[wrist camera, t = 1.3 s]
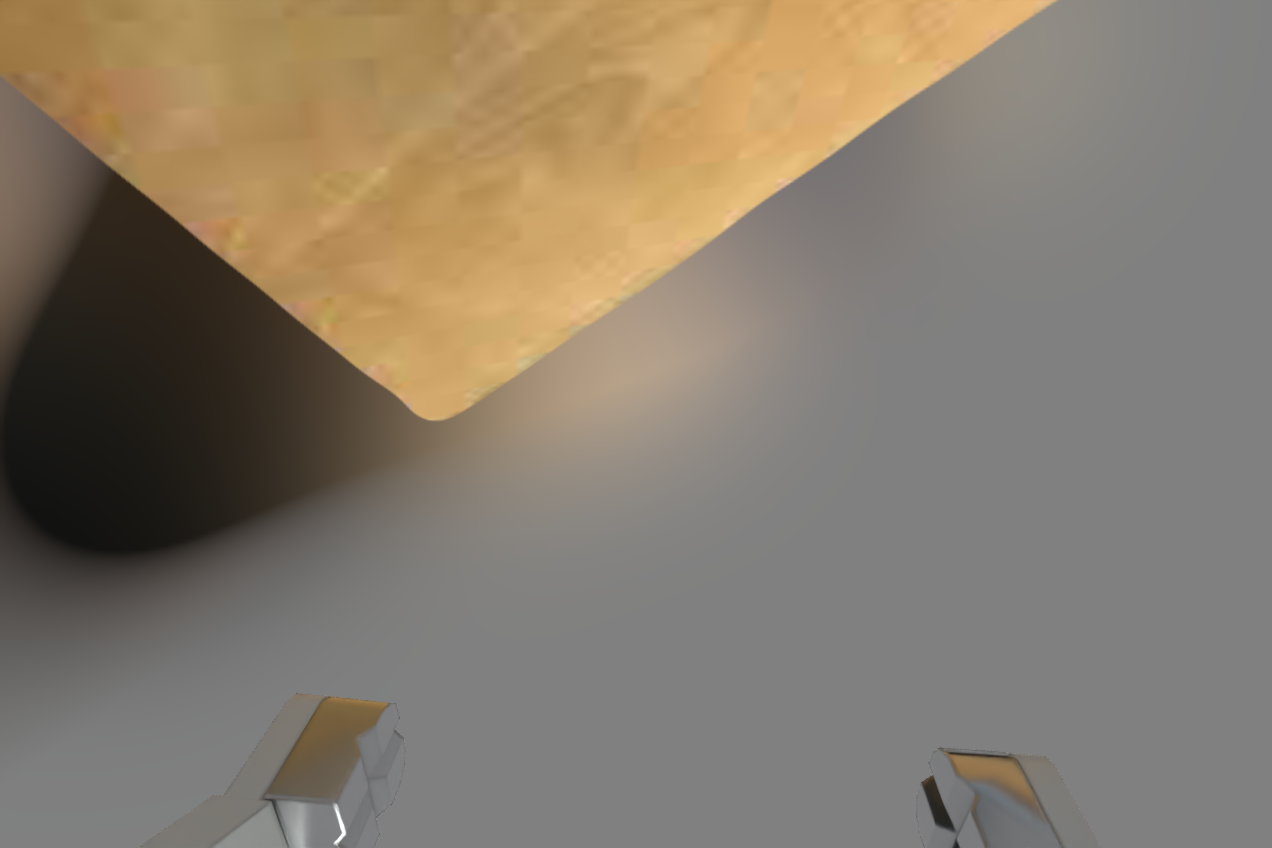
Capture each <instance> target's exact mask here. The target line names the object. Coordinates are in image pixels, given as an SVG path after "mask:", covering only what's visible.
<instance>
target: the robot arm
mask: <svg viewBox="0 0 1272 848" xmlns="http://www.w3.org/2000/svg"><path fill="white" fill-rule="evenodd" d="M399 719H400V717H399V713H398V709H397V705H396V703H386V702H377V701H368V700H359V699H349V698H340V697H331V696H322V695H321V696H320V695H310V694H299V693H296V694H295V695H294V696H293V697H292V698H290V699H289V700H288V701H287V702H286V703H285V704H284V706H283V707H282V709H281V710H280V712H279V713H278V715H277V716H276V718H275V719H274V721H273V722H272V724H271V725H270V727H269V728H268V730H267V731H266V733H265V734H264V736H263V737H262V739H261V740H260V742H259V743H258V745H257V746H256V748H255V749H254V751H253V752H252V754H251V755H250V757H249V758H248V760H247V761H246V763H245V764H244V766H243V767H242V769H241V770H240V772H239V773H238V775H237V776H236V778H235V779H234V781H233V782H232V784H231V785H230V787H229V788H228V790H227V791H226V793H225V794H224V795H223V796H217V795H213V796H211V797H210V798H209V799H207V800H206V801H204V802H203V803H201V804H200V805H198V806H197V807H196V808H194V809H193V810H191V811H190V812H188V813H187V814H186V815H184V816H183V817H181V818H180V819H178V820H177V821H175V822H174V823H173V824H172V825H170V826H168V827H167V828H165V829H164V830H163V831H161V832H160V833H158V834H157V835H155V836H154V837H153V838H151V839H150V840H148V841H147V842H146V843H144V844H142V845H141V846H140V847H138V848H374V847H375V845H376V842H377V839H378V837H379V835H380V834H379V829H378V825H377V821H376V818H377V817H378V816H379V815H380V814H381V813H382V812H383V811H385V810H386V809H387V808H388V807H389V806H391V805H392V803H393V801H394V798H395V796H396V793H397V791H398V788H399V786H400V783H401V778H402V774H403V770H404V765H405V743H404V738H403V737H402V736H401V735H400V734H399V733H398V732H397V731H396V730H395V727H396V725H397V723H398V721H399ZM929 765H930V768H931V770H932V773H933V775H932V776H930V777H929V778H927V779H926V780H924V781H923V782H921V785H920V788H919V791H918V794H917V809H916V817H917V822H918V828H919V833H920V837H921V840H922V843H923V846H924V848H1102V847H1101V846H1100V844H1099V842H1098V840H1097V839H1096V837H1095V835H1094V833H1093V832H1092V830H1091V828H1090V826H1089V825H1088V823H1087V821H1086V819H1085V818H1084V816H1083V814H1082V812H1081V811H1080V809H1079V807H1078V805H1077V804H1076V802H1075V800H1074V798H1073V797H1072V795H1071V793H1070V791H1069V789H1068V788H1067V786H1066V784H1065V782H1064V781H1063V779H1062V778H1061V775H1060V774H1059V772H1058V770H1057V768H1056V767H1055V765H1054V764H1053V763H1052V762H1051V761H1050V760H1049V759H1048V758H1047V757H1045V756H1039V755H1025V754H1007V753H1006V752H998V751H983V750H969V749H954V748H953V749H952V748H938V749H937V750H935V751H934V752H933V754H932V756H931V758H930V761H929Z"/></svg>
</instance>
